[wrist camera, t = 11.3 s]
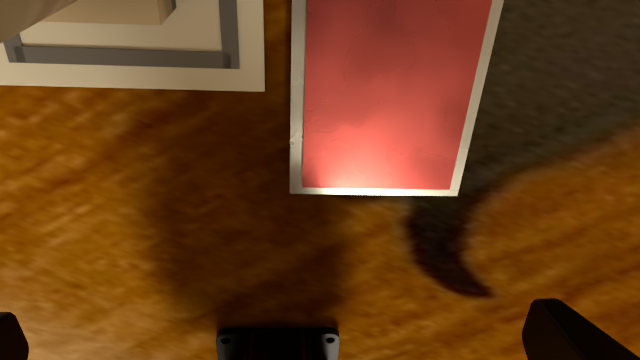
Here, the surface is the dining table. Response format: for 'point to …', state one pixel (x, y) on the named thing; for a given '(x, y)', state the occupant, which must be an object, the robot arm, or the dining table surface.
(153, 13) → the stamp
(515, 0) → the dining table surface
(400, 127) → the ink pad
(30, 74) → the card
